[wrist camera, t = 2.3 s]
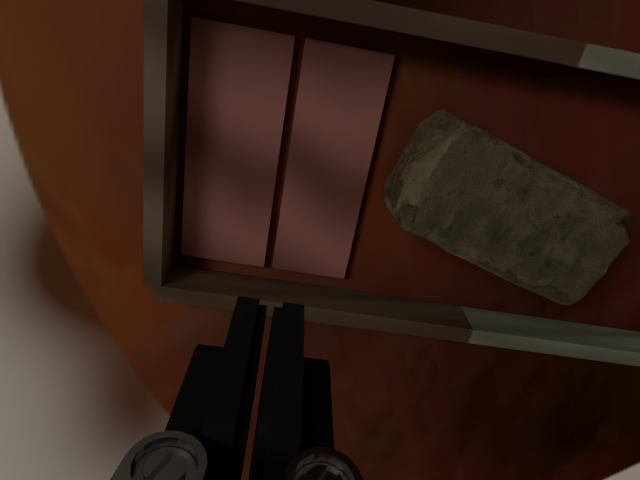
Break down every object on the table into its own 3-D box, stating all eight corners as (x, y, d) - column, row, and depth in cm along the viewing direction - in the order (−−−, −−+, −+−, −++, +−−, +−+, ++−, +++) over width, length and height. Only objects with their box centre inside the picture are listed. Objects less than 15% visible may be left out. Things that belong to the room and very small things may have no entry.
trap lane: (163, -38, 20) (130, -52, 17) (843, 98, 23) (939, 111, 20) (157, 276, 28) (133, 313, 24) (678, 350, 31) (726, 393, 27)
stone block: (536, 270, 28) (579, 317, 23) (371, 193, 26) (383, 229, 21) (599, 189, 26) (661, 224, 21) (424, 97, 23) (451, 113, 19)
